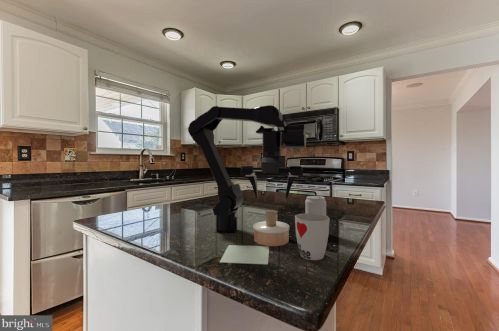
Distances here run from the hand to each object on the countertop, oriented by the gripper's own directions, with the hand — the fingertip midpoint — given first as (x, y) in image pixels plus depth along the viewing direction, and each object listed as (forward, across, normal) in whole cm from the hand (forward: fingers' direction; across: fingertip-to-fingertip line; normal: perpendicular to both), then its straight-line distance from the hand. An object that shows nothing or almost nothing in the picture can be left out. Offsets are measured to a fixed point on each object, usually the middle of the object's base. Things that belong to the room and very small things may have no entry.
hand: (271, 198), depth 75 cm
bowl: (+12, 0, -5) cm, 13 cm away
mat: (+12, -5, -16) cm, 21 cm away
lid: (+8, 0, -5) cm, 9 cm away
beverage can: (+12, +14, +4) cm, 19 cm away
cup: (+12, +11, -15) cm, 22 cm away
